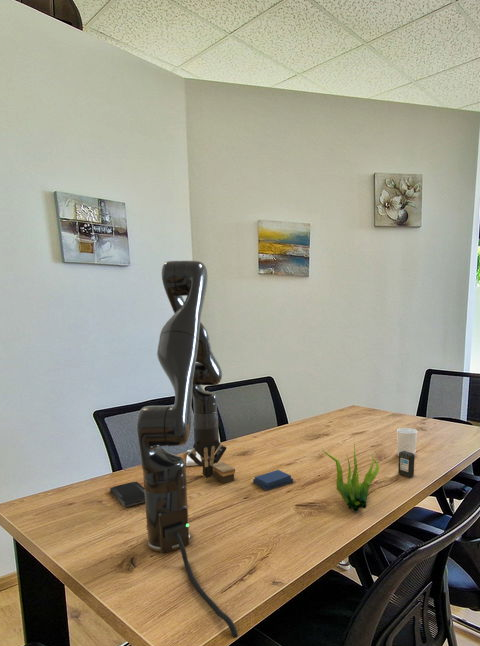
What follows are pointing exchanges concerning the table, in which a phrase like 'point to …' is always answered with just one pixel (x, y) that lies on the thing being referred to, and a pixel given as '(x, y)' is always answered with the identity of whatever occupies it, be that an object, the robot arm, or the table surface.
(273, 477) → the folded cloth
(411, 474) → the ink cartridge
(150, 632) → the table surface
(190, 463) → the phone case
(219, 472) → the tan two-tone block
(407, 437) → the white cup
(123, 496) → the phone
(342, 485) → the decorative plant
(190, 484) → the table surface
